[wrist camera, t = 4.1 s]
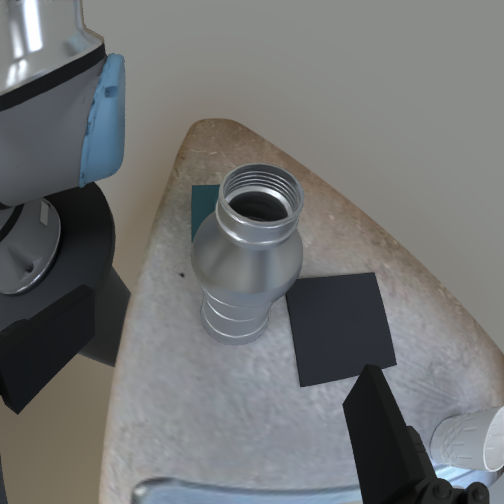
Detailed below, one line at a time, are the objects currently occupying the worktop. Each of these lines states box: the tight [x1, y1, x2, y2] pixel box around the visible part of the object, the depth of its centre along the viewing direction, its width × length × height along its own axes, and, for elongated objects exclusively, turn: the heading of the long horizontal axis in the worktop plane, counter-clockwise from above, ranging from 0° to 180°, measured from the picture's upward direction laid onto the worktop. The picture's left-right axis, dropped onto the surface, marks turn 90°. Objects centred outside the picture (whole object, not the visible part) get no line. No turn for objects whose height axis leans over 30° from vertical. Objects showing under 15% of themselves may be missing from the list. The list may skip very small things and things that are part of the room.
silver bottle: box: [191, 162, 304, 345], centre depth 21 cm, size 6×7×20 cm
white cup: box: [430, 405, 504, 472], centre depth 19 cm, size 8×8×10 cm
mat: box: [286, 273, 397, 387], centre depth 30 cm, size 12×12×1 cm
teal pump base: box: [192, 185, 220, 243], centre depth 34 cm, size 12×9×4 cm
